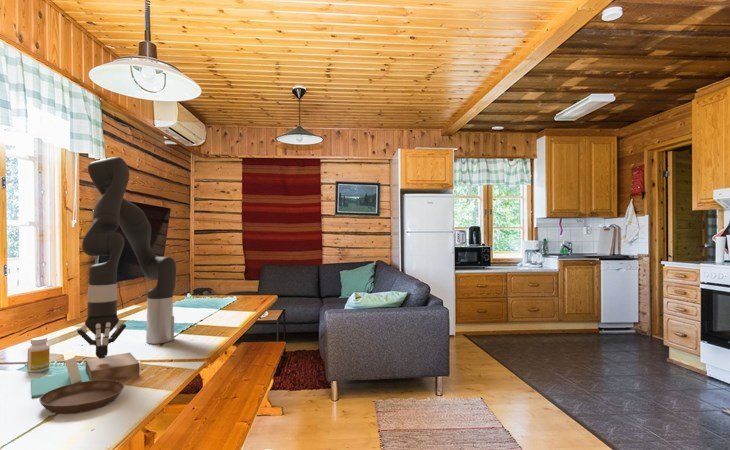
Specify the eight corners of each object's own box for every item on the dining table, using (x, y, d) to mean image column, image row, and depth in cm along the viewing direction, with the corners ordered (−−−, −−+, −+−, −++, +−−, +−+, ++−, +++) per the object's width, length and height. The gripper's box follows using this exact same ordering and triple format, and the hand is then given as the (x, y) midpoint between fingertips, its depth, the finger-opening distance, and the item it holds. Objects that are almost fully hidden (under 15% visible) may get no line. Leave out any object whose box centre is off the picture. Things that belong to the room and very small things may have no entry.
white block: (72, 349, 124) (63, 353, 123) (75, 357, 117) (64, 360, 115) (79, 371, 125) (69, 375, 123) (81, 380, 118) (71, 384, 116)
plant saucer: (108, 385, 118) (108, 374, 118) (135, 401, 107) (135, 389, 107) (30, 405, 104) (30, 392, 105) (51, 426, 93) (51, 412, 93)
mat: (84, 371, 128) (85, 369, 128) (91, 386, 116) (91, 384, 116) (30, 381, 120) (30, 378, 120) (31, 398, 108) (32, 395, 108)
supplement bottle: (53, 368, 132) (54, 337, 132) (35, 373, 127) (35, 341, 127) (41, 366, 133) (42, 335, 134) (23, 371, 128) (23, 339, 128)
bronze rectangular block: (129, 364, 135) (130, 352, 135) (139, 376, 124) (139, 363, 125) (85, 372, 128) (85, 359, 128) (91, 385, 117) (91, 371, 117)
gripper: (125, 295, 132) (124, 351, 131) (74, 299, 123) (73, 359, 123) (130, 298, 126) (129, 356, 126) (77, 303, 118) (75, 365, 117)
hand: (101, 357), depth 124 cm, fingers closed
